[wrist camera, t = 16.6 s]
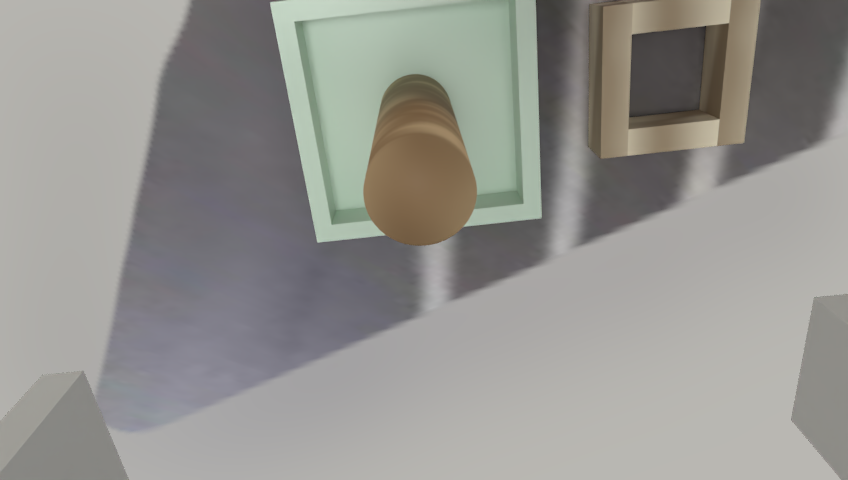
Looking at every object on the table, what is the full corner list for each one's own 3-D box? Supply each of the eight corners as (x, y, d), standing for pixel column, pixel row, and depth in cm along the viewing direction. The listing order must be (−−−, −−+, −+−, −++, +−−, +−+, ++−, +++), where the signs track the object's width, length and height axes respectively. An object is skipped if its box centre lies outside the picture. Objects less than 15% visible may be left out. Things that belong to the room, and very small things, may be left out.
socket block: (737, -13, 32) (762, -12, 30) (722, 131, 36) (744, 143, 33) (589, 3, 33) (603, 6, 30) (588, 146, 36) (600, 158, 34)
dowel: (447, 70, 33) (472, 131, 20) (454, 140, 35) (480, 239, 22) (375, 78, 33) (355, 144, 20) (385, 148, 35) (371, 251, 22)
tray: (523, -29, 32) (534, -29, 29) (531, 199, 37) (541, 218, 34) (281, -1, 32) (270, 2, 29) (323, 222, 37) (317, 242, 35)
